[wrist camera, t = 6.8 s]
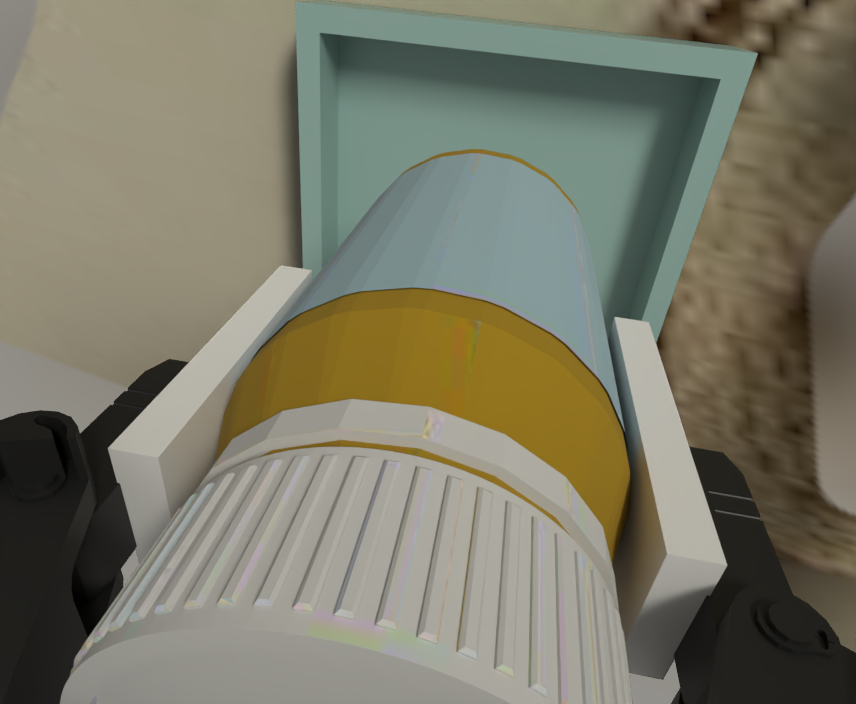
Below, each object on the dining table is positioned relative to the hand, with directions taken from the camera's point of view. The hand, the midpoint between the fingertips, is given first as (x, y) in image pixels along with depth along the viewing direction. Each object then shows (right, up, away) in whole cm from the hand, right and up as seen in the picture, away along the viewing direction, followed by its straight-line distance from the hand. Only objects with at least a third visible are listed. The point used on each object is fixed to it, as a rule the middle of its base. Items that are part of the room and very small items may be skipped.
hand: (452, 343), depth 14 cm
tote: (+3, +6, +17) cm, 18 cm away
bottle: (+1, +3, +5) cm, 6 cm away
